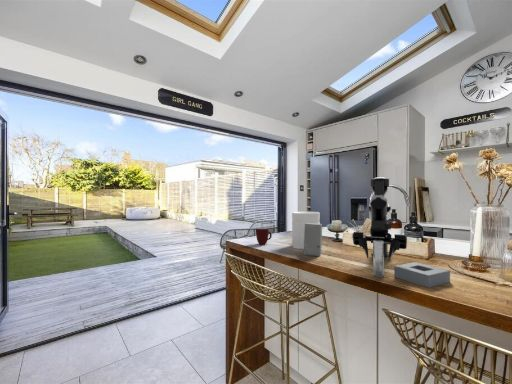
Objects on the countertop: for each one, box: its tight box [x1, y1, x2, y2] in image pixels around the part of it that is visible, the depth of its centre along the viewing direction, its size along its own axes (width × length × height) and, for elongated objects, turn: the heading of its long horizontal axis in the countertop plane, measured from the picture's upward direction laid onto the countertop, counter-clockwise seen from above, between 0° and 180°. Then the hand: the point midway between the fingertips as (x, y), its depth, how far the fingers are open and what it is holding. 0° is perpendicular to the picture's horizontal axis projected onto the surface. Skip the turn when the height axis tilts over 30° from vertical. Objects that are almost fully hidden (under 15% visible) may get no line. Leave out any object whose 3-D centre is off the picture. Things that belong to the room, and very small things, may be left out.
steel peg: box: [372, 240, 385, 278], centre depth 93 cm, size 4×4×13 cm
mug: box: [255, 226, 272, 246], centre depth 152 cm, size 10×8×10 cm
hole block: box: [393, 261, 451, 289], centre depth 88 cm, size 12×12×4 cm
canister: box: [291, 211, 321, 250], centre depth 145 cm, size 16×16×20 cm
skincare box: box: [303, 223, 323, 257], centre depth 126 cm, size 8×7×16 cm
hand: (378, 258), depth 91 cm, fingers open, 7 cm apart
